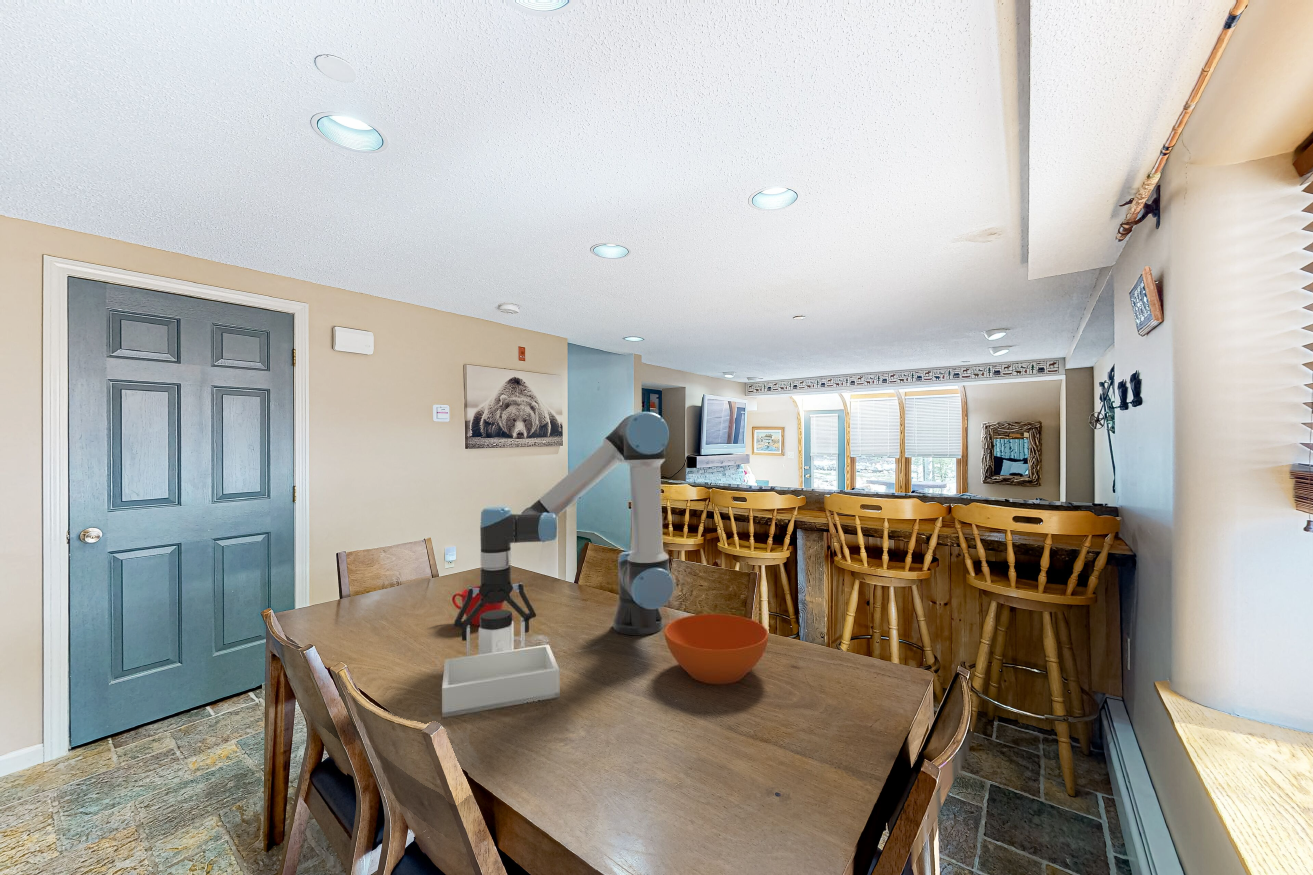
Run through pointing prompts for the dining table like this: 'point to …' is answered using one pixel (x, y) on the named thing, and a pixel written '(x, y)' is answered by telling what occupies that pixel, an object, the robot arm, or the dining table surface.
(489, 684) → the bin
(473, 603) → the ceramic cup
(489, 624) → the jar
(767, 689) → the dining table surface
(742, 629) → the bowl
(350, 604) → the dining table surface
